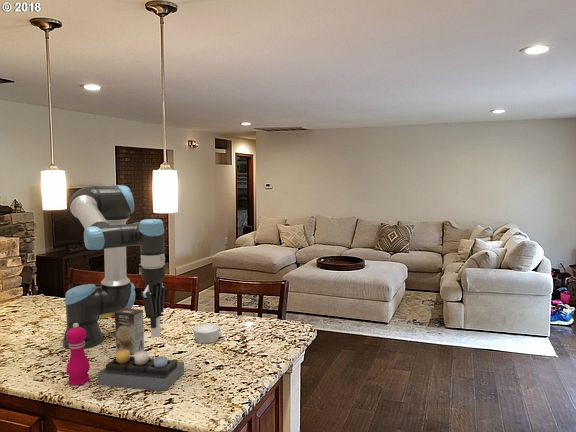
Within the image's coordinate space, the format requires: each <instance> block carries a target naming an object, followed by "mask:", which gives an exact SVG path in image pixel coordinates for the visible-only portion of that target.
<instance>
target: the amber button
mask: <svg viewBox="0 0 576 432" xmlns="http://www.w3.org/2000/svg"><path fill="white" fill-rule="evenodd" d="M130 357H131V354H130V352H129V350H127V349H123V350H119V351H117V352H116V351H115V358H116V362H117V363H119V364H125V365H126V364H127V362H128V361H129V360H130Z"/></svg>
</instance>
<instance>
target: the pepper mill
mask: <svg viewBox="0 0 576 432" xmlns="http://www.w3.org/2000/svg"><path fill="white" fill-rule="evenodd" d="M66 338H67V340H68V341H69V348H70V349H69V351H70V357H69V360H68V362H67V365H66V371H65V372H66V374H67V376H69V377H68V384H69V385H70V386H81V385H83V384H86V383H88V382H89V380H90V375H89V371H90V368H91V365H90V362H89V360H88V358H87V355H86V354H85V348H84V346H85V341H84V339H85V338H86V331H85V330H84V329H83V328H81V327H79V324H78V323H74V324H73V328H71V329H70V330H69V331H68V332H67V335H66Z"/></svg>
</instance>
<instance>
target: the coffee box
mask: <svg viewBox="0 0 576 432" xmlns="http://www.w3.org/2000/svg"><path fill="white" fill-rule="evenodd" d="M114 326H115V328H114V329H115V348H116V349H115V353H116V352H117V351H119V350H123V349H127V350H129V352H130V355H134V354H135V353H136V352H139V351H144V349H145V334H144V333H145V332H144V329H145V328H144V309H138V308H123V309H121V310H118V311H116V312H115V317H114Z"/></svg>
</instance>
